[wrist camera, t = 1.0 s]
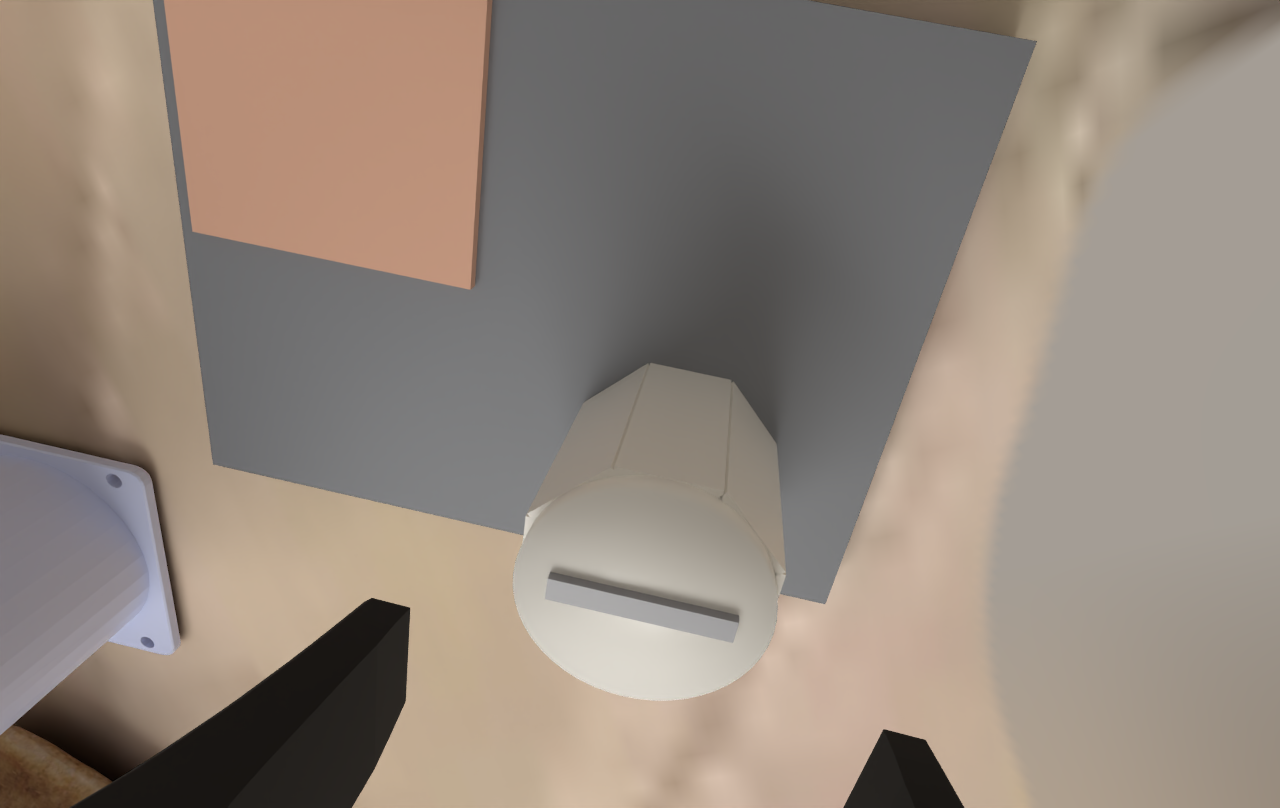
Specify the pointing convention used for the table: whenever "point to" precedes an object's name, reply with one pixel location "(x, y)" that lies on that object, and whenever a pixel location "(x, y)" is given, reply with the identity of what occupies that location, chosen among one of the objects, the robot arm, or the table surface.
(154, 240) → the table surface
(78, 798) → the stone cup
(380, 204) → the terracotta pad
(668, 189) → the base board
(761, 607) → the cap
